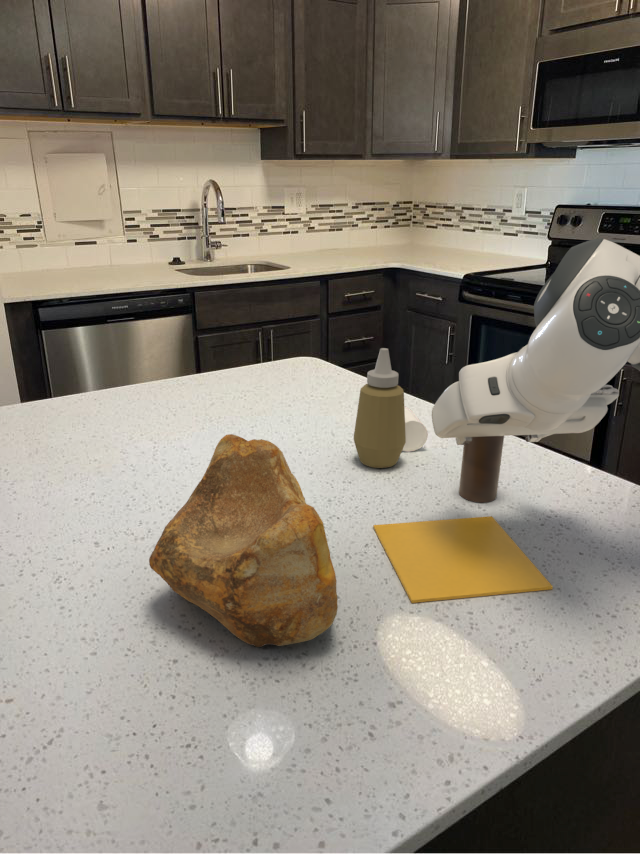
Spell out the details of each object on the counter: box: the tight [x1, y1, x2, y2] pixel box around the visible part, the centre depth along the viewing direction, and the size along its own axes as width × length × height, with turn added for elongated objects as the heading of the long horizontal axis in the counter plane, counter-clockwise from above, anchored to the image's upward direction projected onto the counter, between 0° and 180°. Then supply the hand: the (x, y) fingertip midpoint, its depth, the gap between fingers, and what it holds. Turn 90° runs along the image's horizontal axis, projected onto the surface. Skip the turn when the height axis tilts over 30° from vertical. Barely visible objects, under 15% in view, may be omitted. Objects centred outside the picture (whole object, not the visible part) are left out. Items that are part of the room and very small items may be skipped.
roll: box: [402, 405, 429, 453], centre depth 112 cm, size 6×12×6 cm, turn 10°
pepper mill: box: [458, 436, 505, 504], centre depth 91 cm, size 5×5×14 cm
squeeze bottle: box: [353, 347, 406, 469], centre depth 100 cm, size 8×8×18 cm
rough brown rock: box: [148, 433, 339, 648], centre depth 67 cm, size 23×17×15 cm
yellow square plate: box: [372, 515, 553, 604], centre depth 78 cm, size 16×16×1 cm
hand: (495, 438), depth 86 cm, fingers open, 8 cm apart
